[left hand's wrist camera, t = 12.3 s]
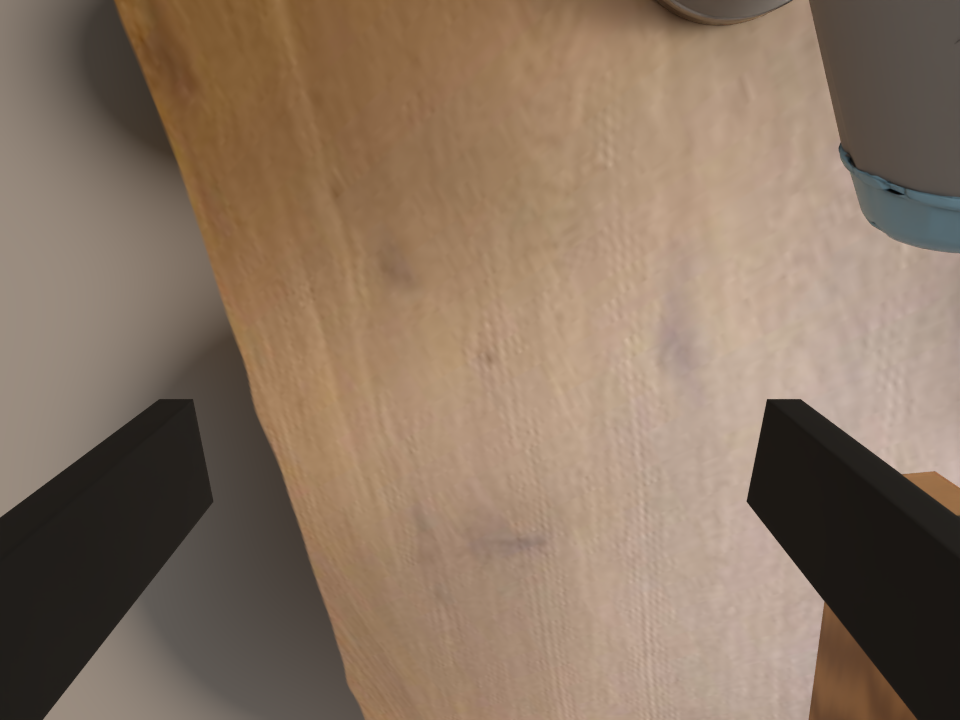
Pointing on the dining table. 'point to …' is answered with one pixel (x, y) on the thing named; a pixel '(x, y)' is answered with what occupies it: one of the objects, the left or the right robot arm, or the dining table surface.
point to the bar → (844, 665)
